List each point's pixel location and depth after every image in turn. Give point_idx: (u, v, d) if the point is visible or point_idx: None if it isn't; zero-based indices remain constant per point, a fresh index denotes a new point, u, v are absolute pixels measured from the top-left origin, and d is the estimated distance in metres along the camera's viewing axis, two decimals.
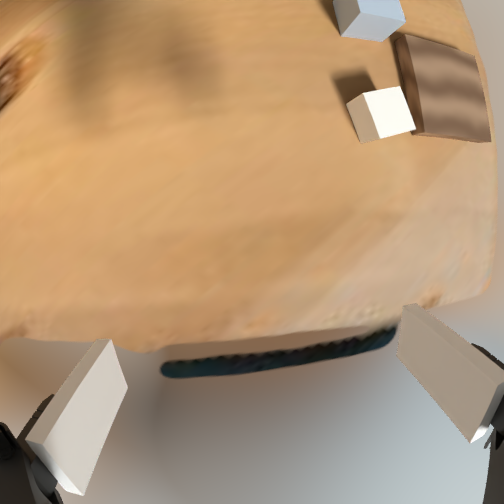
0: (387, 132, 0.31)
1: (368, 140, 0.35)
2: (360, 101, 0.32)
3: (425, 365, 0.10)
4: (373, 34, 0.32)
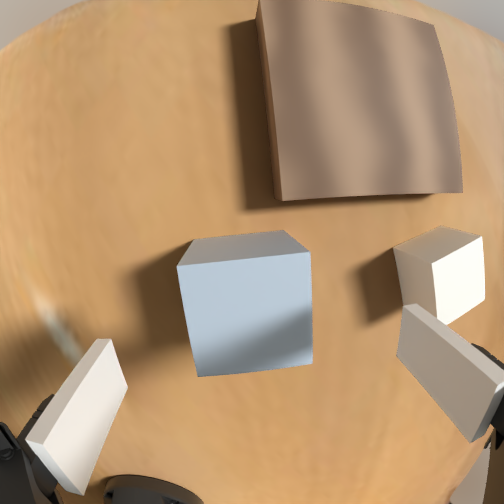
0: (481, 288, 0.20)
1: None
2: None
3: (425, 365, 0.10)
4: None
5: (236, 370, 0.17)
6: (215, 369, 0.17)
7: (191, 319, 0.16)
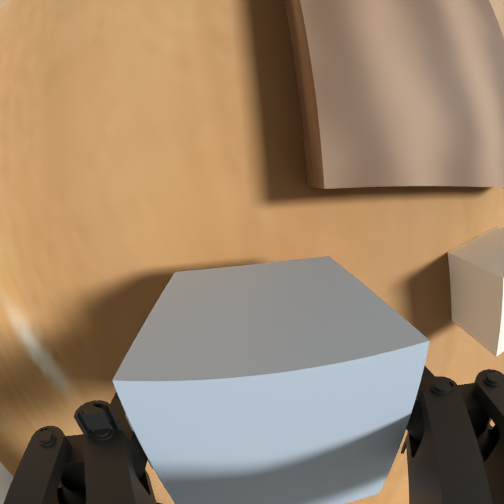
0: None
1: None
2: None
3: None
4: None
5: None
6: None
7: (162, 465, 0.06)
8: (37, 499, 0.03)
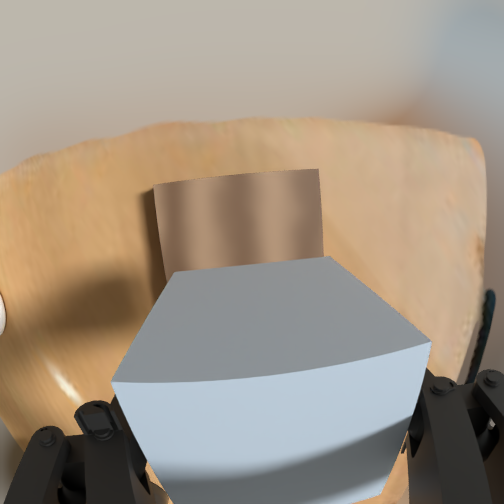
0: None
1: None
2: None
3: None
4: None
5: None
6: None
7: (162, 467, 0.06)
8: (37, 499, 0.03)
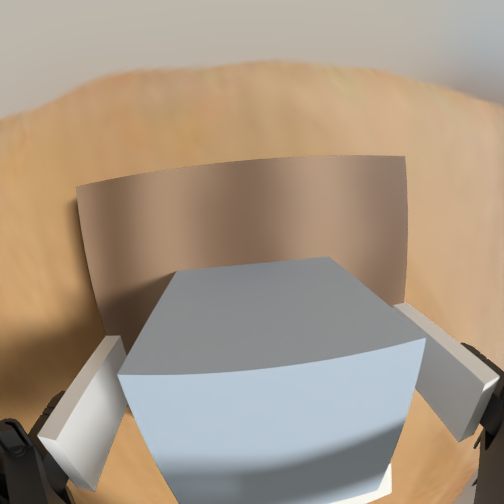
0: (386, 489, 0.16)
1: None
2: None
3: None
4: None
5: None
6: None
7: (164, 460, 0.06)
8: None
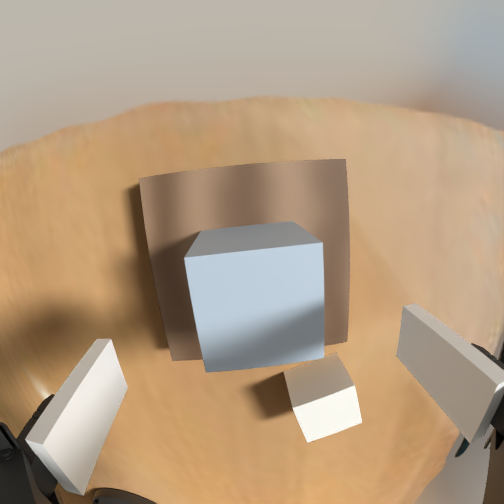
0: (356, 416, 0.25)
1: None
2: None
3: (425, 365, 0.10)
4: None
5: (246, 365, 0.16)
6: (224, 364, 0.16)
7: (199, 313, 0.15)
8: None
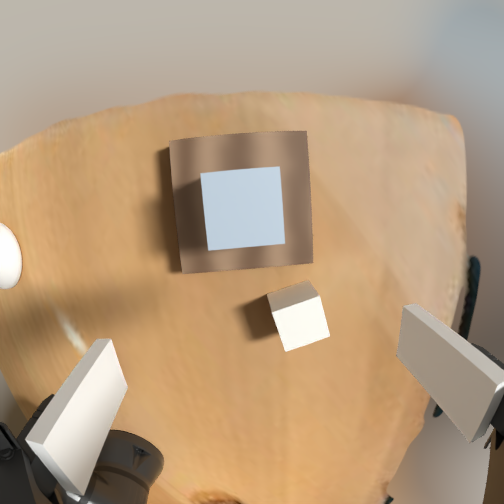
0: (324, 328, 0.36)
1: None
2: None
3: (425, 365, 0.10)
4: None
5: (234, 245, 0.27)
6: (220, 244, 0.27)
7: (207, 207, 0.26)
8: None
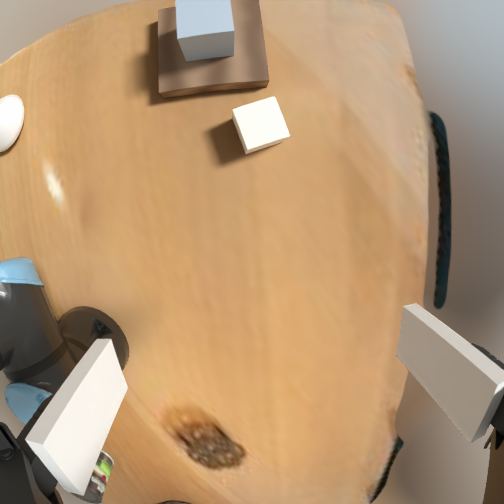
0: (283, 127, 0.37)
1: (284, 139, 0.41)
2: (252, 149, 0.39)
3: (425, 365, 0.10)
4: None
5: (196, 33, 0.28)
6: (186, 34, 0.28)
7: (178, 15, 0.27)
8: None
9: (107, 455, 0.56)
